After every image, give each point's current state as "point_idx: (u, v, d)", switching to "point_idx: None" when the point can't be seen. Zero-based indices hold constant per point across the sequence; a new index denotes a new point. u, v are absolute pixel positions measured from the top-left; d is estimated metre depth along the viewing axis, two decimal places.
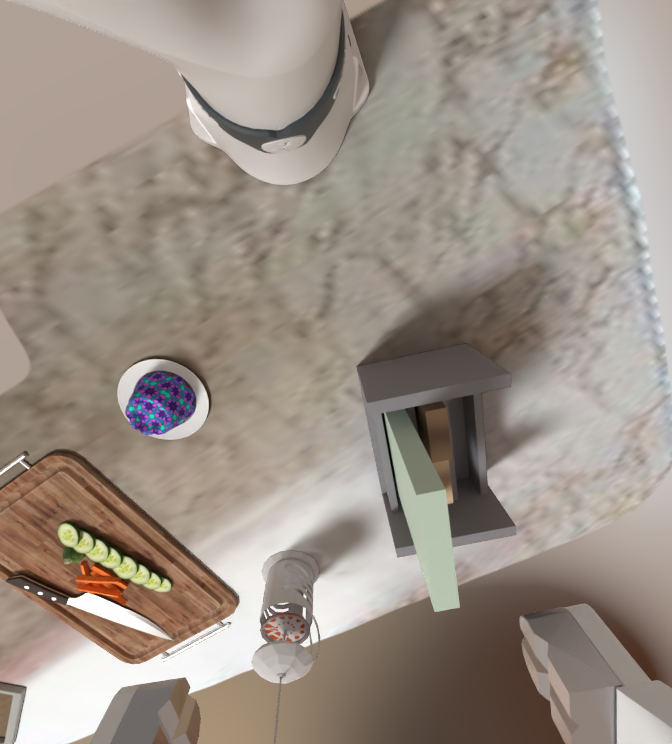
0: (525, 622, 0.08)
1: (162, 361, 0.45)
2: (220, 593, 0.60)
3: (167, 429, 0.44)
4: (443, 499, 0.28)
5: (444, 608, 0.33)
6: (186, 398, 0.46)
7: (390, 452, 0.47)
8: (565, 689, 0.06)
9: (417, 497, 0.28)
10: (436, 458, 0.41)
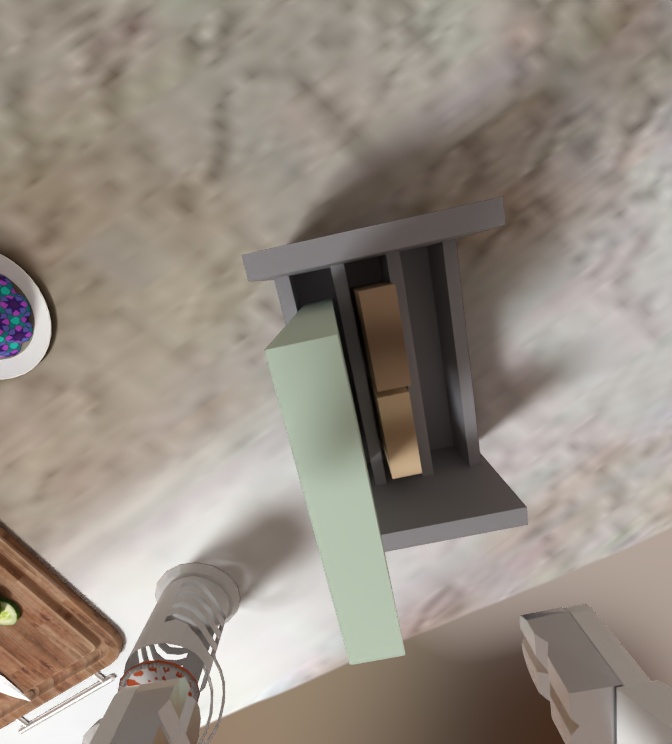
0: (525, 622, 0.08)
1: None
2: (93, 628, 0.40)
3: None
4: (336, 364, 0.11)
5: (370, 657, 0.15)
6: (7, 305, 0.30)
7: None
8: (565, 689, 0.06)
9: (269, 358, 0.11)
10: (383, 383, 0.24)
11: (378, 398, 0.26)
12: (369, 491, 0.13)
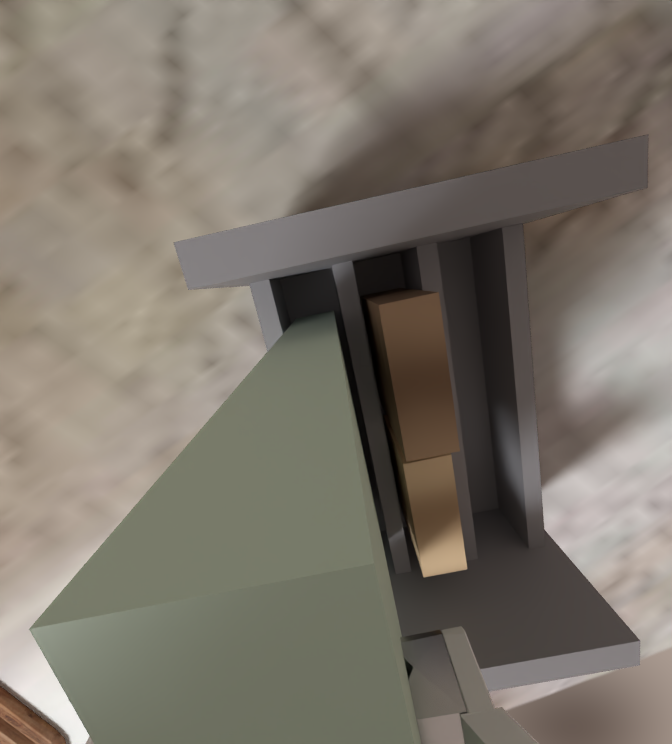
0: (401, 644, 0.08)
1: None
2: (26, 733, 0.31)
3: None
4: (366, 674, 0.03)
5: None
6: None
7: None
8: None
9: (60, 653, 0.02)
10: (416, 448, 0.15)
11: (404, 464, 0.17)
12: None
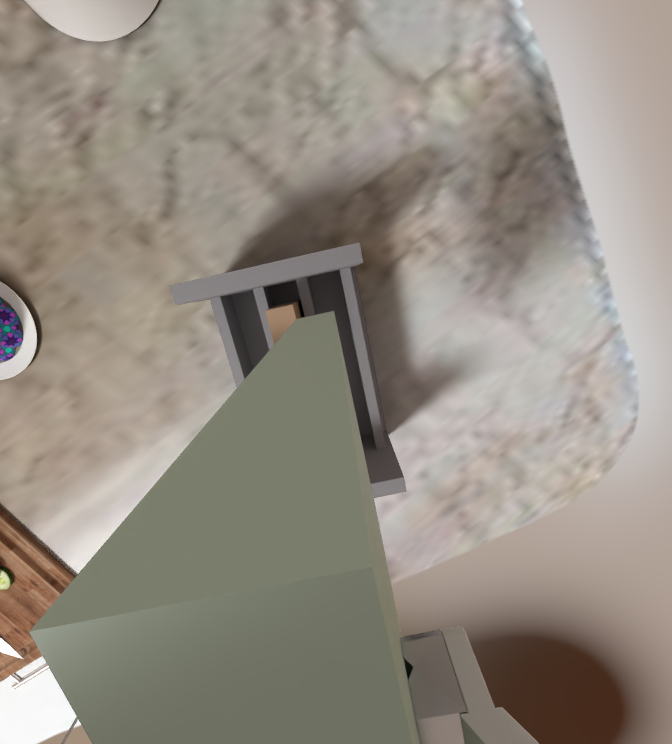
0: (401, 644, 0.08)
1: None
2: None
3: None
4: (363, 674, 0.03)
5: None
6: None
7: None
8: (415, 715, 0.07)
9: (59, 655, 0.03)
10: None
11: None
12: None
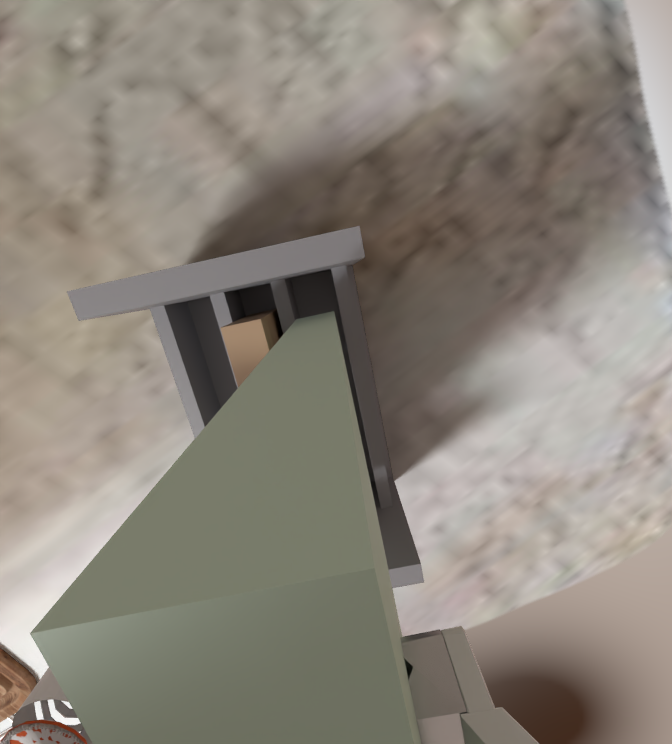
0: (401, 644, 0.08)
1: None
2: (2, 671, 0.38)
3: None
4: (364, 676, 0.03)
5: None
6: None
7: None
8: None
9: (61, 657, 0.02)
10: None
11: None
12: None
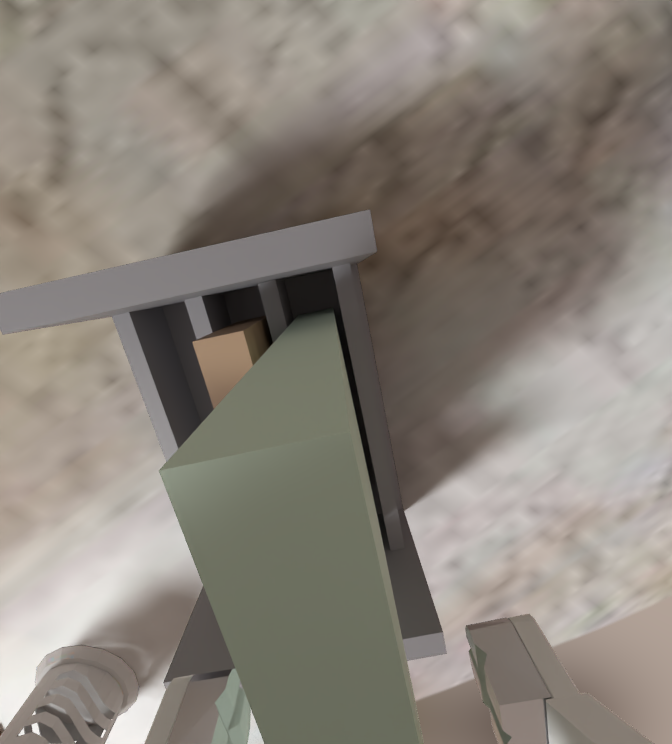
0: (469, 632, 0.08)
1: None
2: None
3: None
4: (346, 501, 0.04)
5: None
6: None
7: None
8: (497, 701, 0.06)
9: (173, 487, 0.04)
10: None
11: None
12: None
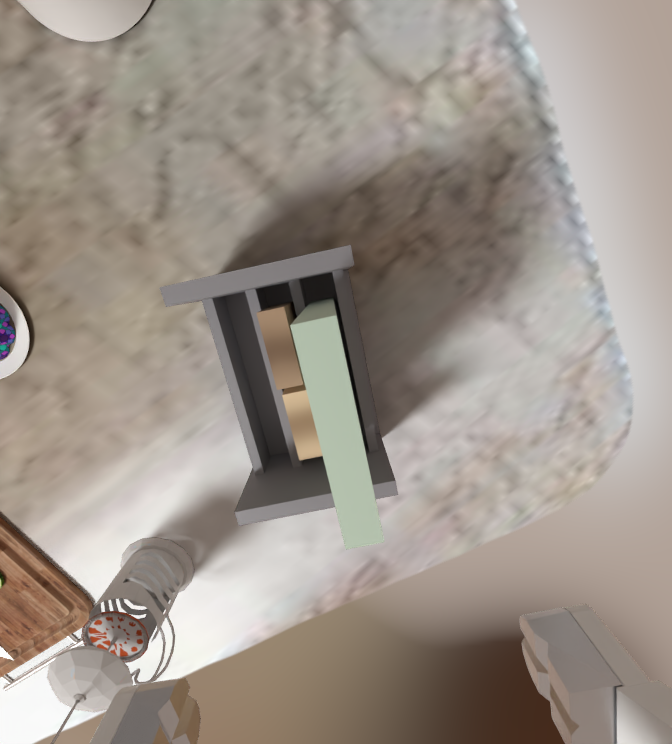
0: (525, 622, 0.08)
1: None
2: (67, 594, 0.47)
3: None
4: (335, 334, 0.18)
5: (360, 543, 0.21)
6: None
7: None
8: (565, 689, 0.06)
9: (293, 330, 0.18)
10: (281, 383, 0.31)
11: (283, 395, 0.33)
12: (357, 420, 0.19)
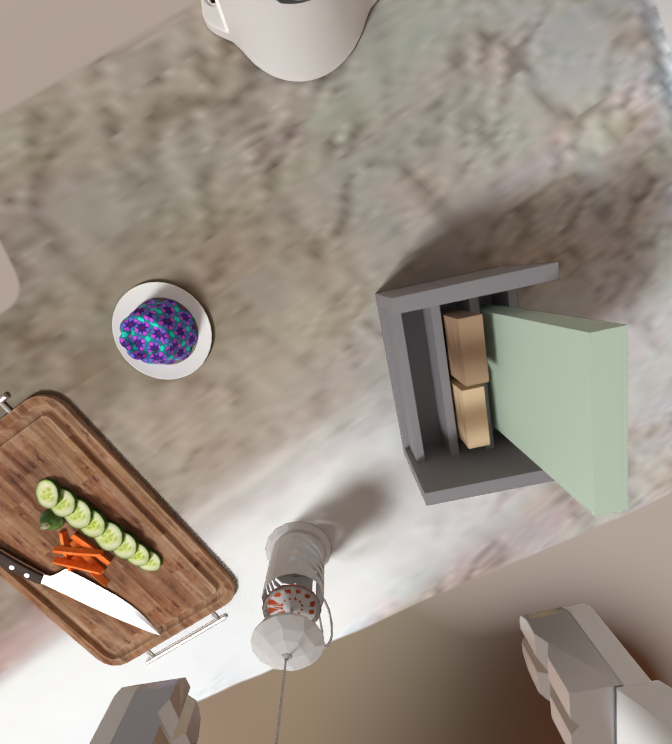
0: (525, 622, 0.08)
1: (148, 285, 0.41)
2: (216, 574, 0.52)
3: (168, 351, 0.39)
4: (623, 339, 0.22)
5: (607, 511, 0.26)
6: (182, 317, 0.41)
7: None
8: (565, 689, 0.06)
9: (590, 336, 0.22)
10: (470, 380, 0.36)
11: (462, 391, 0.38)
12: (626, 409, 0.24)
